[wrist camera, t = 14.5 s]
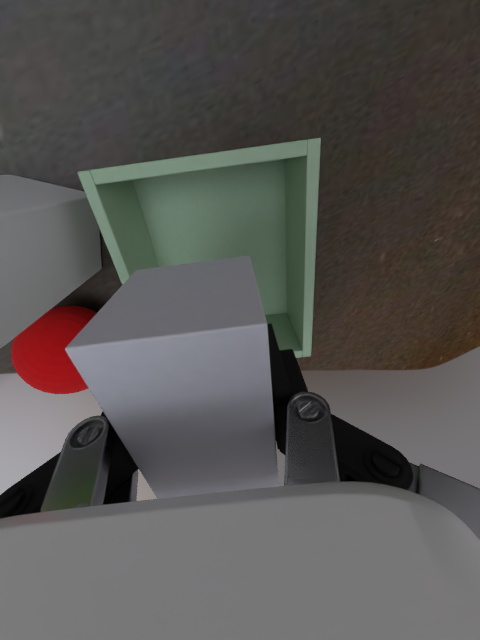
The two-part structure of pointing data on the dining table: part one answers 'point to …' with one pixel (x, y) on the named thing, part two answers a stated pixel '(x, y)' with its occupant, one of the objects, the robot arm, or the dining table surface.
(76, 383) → the ornament
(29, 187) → the milk carton
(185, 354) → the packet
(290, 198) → the open box
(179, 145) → the dining table surface
